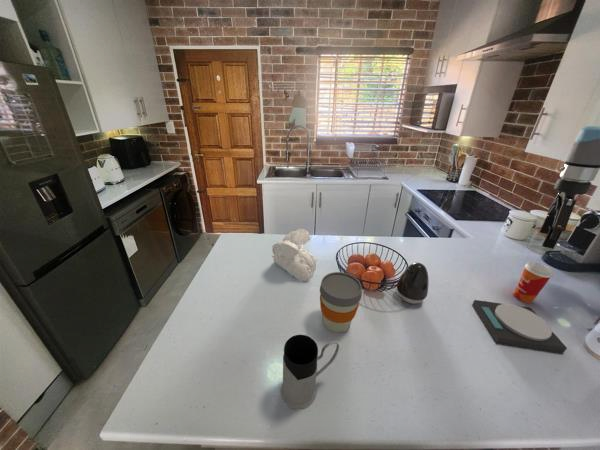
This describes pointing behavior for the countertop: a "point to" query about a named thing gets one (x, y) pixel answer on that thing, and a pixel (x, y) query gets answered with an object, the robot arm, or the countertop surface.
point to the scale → (517, 326)
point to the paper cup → (532, 281)
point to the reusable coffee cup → (339, 300)
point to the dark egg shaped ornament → (413, 283)
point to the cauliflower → (295, 255)
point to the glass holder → (302, 370)
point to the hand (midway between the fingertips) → (545, 239)
